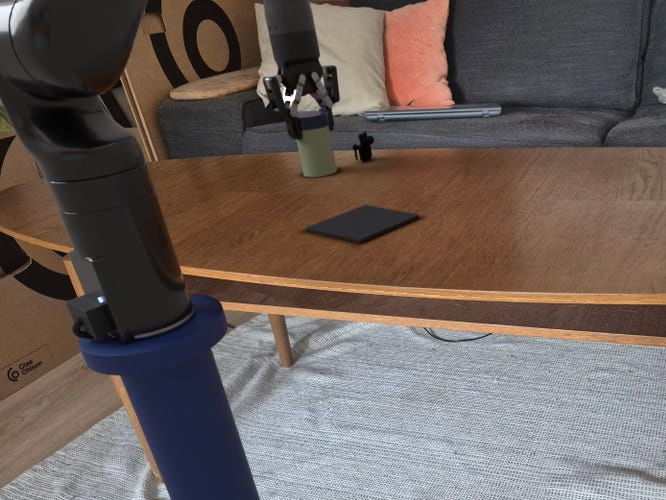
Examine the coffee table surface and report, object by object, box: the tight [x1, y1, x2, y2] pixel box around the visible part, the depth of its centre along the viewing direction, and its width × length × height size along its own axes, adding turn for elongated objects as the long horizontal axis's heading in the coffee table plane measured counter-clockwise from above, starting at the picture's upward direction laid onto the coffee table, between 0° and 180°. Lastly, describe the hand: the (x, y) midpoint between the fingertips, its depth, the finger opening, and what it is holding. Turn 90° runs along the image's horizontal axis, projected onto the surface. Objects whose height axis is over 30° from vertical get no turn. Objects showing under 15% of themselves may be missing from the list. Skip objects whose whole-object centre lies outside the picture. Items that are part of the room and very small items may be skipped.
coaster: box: [305, 204, 420, 244], centre depth 92 cm, size 11×11×1 cm
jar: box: [295, 125, 338, 178], centre depth 118 cm, size 6×6×10 cm
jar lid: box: [296, 109, 330, 129], centre depth 116 cm, size 7×7×2 cm
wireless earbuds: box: [352, 131, 375, 163], centre depth 124 cm, size 7×2×5 cm, turn 159°
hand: (312, 134), depth 117 cm, fingers closed on jar lid, 6 cm apart
